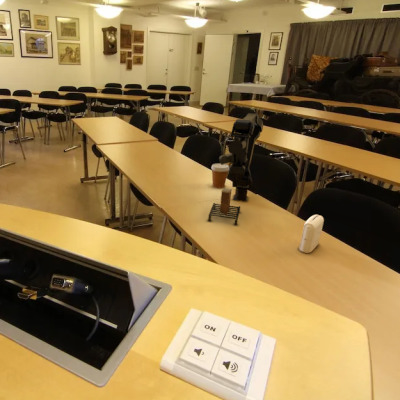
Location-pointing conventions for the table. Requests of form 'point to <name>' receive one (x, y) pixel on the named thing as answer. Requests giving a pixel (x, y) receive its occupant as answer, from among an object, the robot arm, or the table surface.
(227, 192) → the hanger post
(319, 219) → the photo printer
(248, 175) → the robot arm
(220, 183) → the disposable coffee cup
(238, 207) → the wire rack
